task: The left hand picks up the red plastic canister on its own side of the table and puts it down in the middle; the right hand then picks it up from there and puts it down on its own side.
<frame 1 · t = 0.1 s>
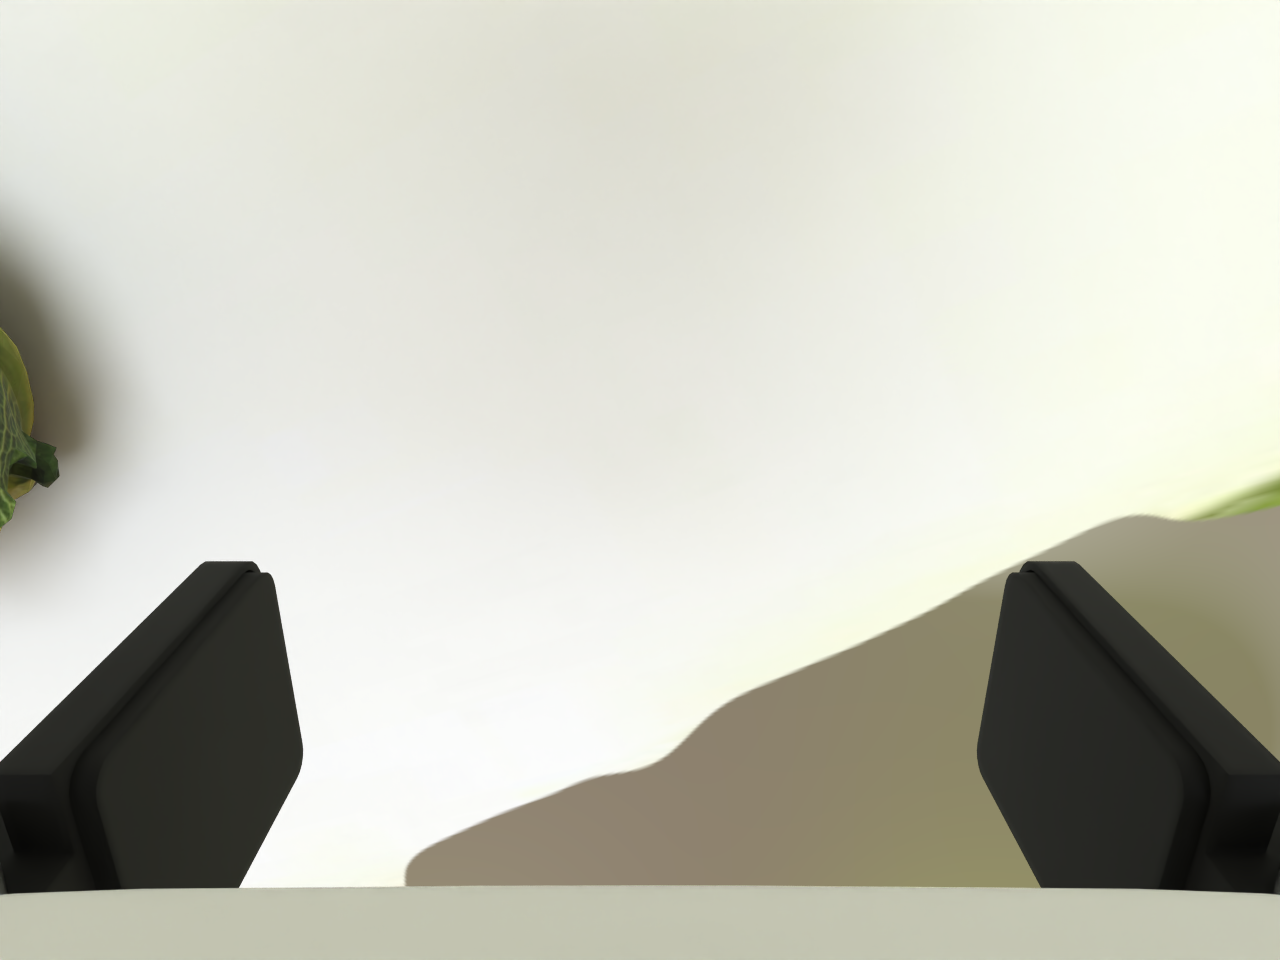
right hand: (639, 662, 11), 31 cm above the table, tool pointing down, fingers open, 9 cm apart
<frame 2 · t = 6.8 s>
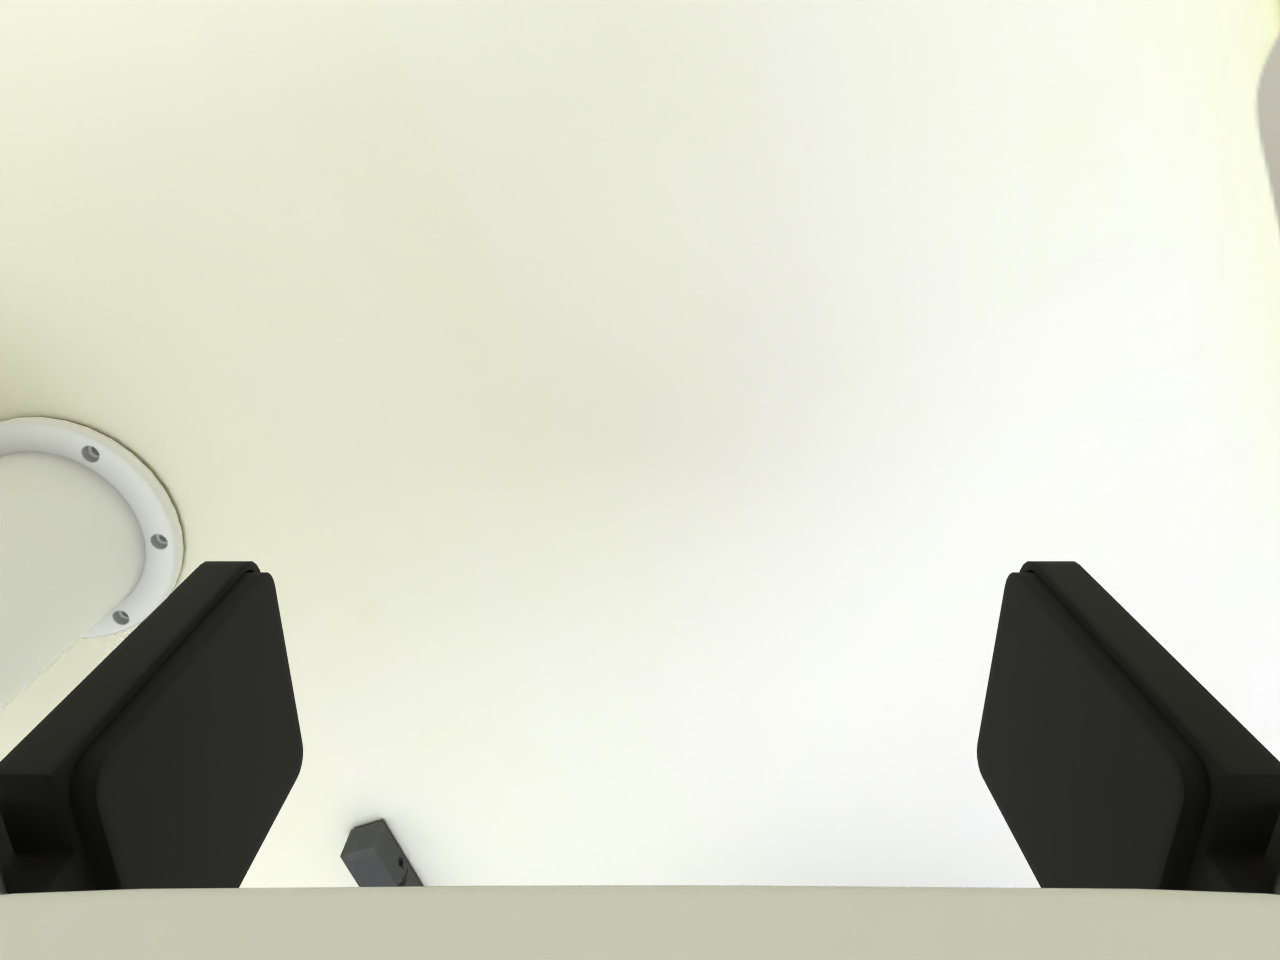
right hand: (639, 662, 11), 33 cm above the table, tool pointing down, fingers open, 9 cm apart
pillar: (435, 933, 58), on the table
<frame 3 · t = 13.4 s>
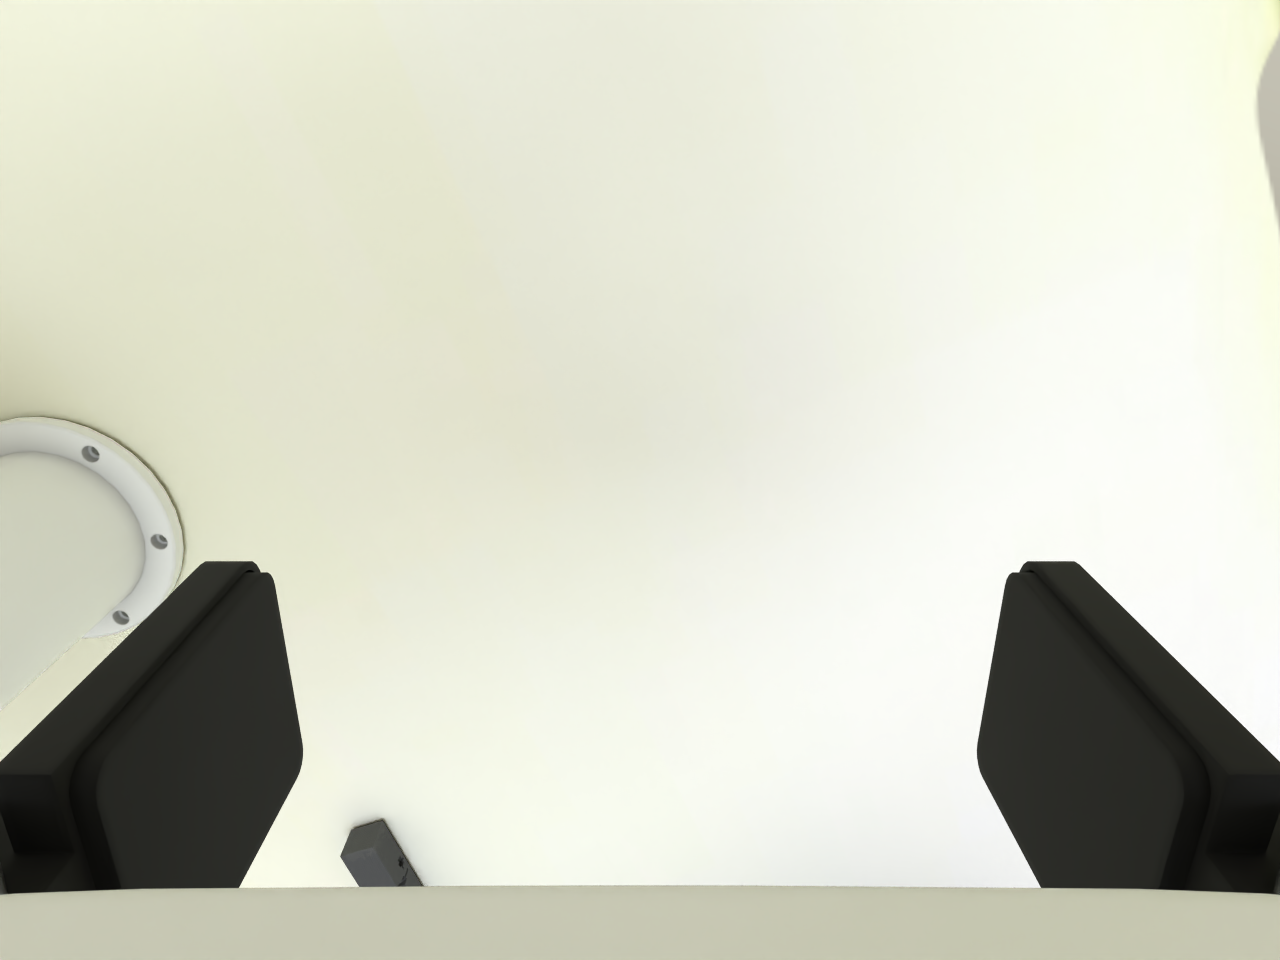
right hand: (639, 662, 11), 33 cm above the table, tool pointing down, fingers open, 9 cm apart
pillar: (435, 933, 58), on the table
when the left hand's fingers open (6 cm above the table, at t = 19.9 s): canister drops 1 cm, on the table.
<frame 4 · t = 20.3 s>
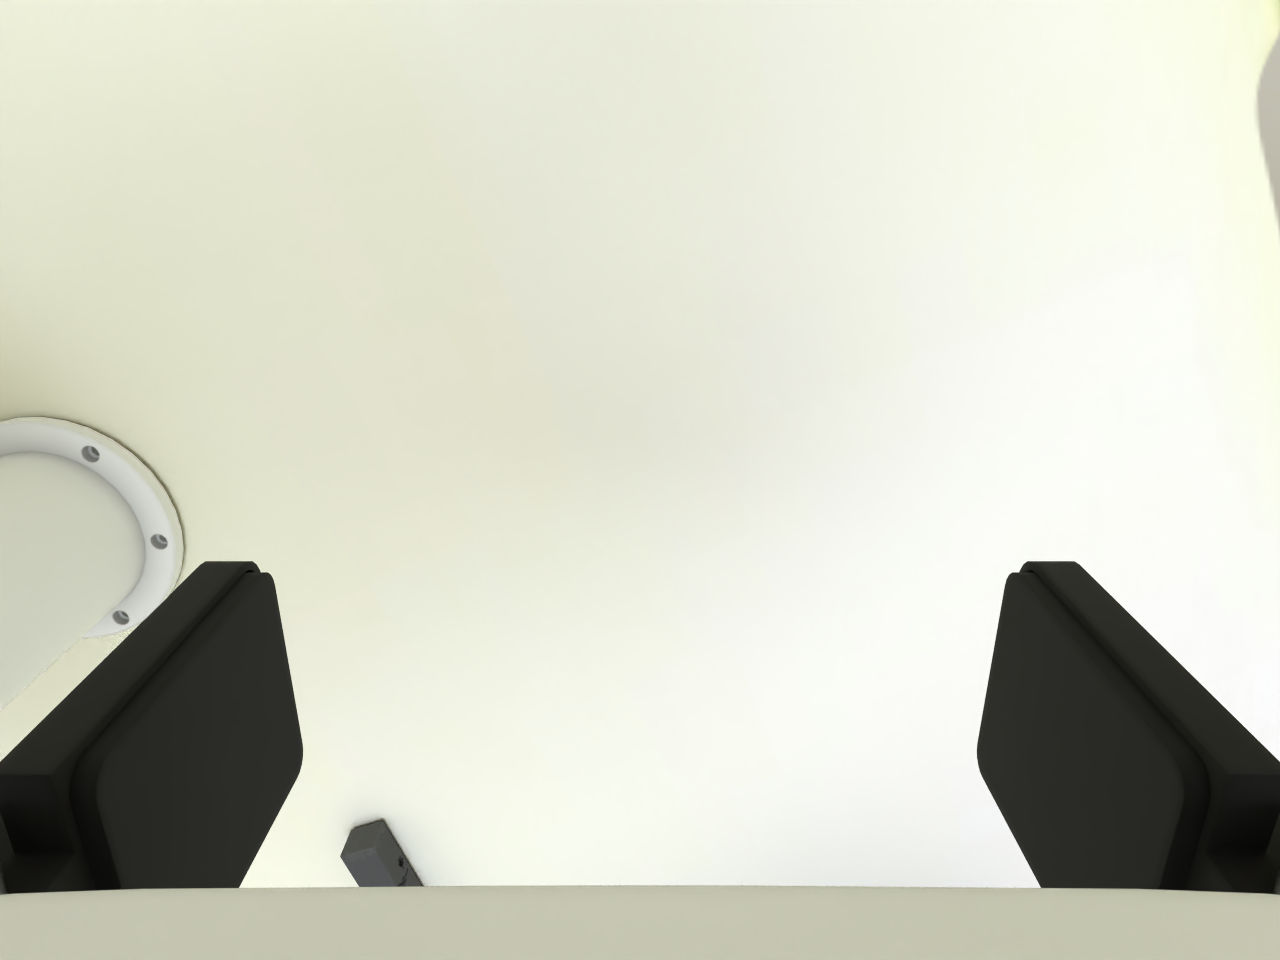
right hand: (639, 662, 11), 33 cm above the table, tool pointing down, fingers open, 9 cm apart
pillar: (435, 933, 58), on the table
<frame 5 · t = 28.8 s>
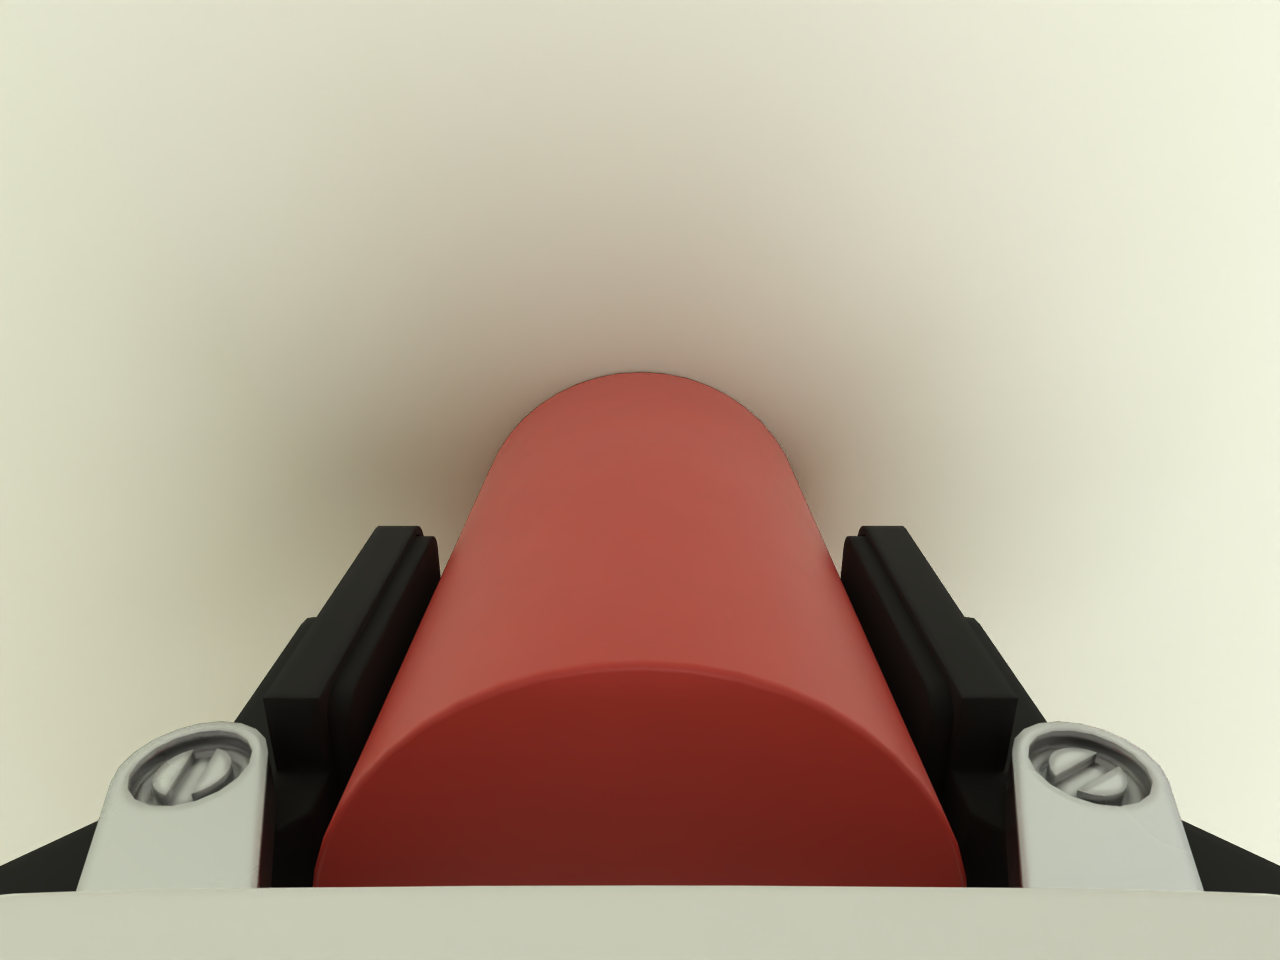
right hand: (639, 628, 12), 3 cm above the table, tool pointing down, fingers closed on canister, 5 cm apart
canister: (640, 526, 15), on the table, touching right hand
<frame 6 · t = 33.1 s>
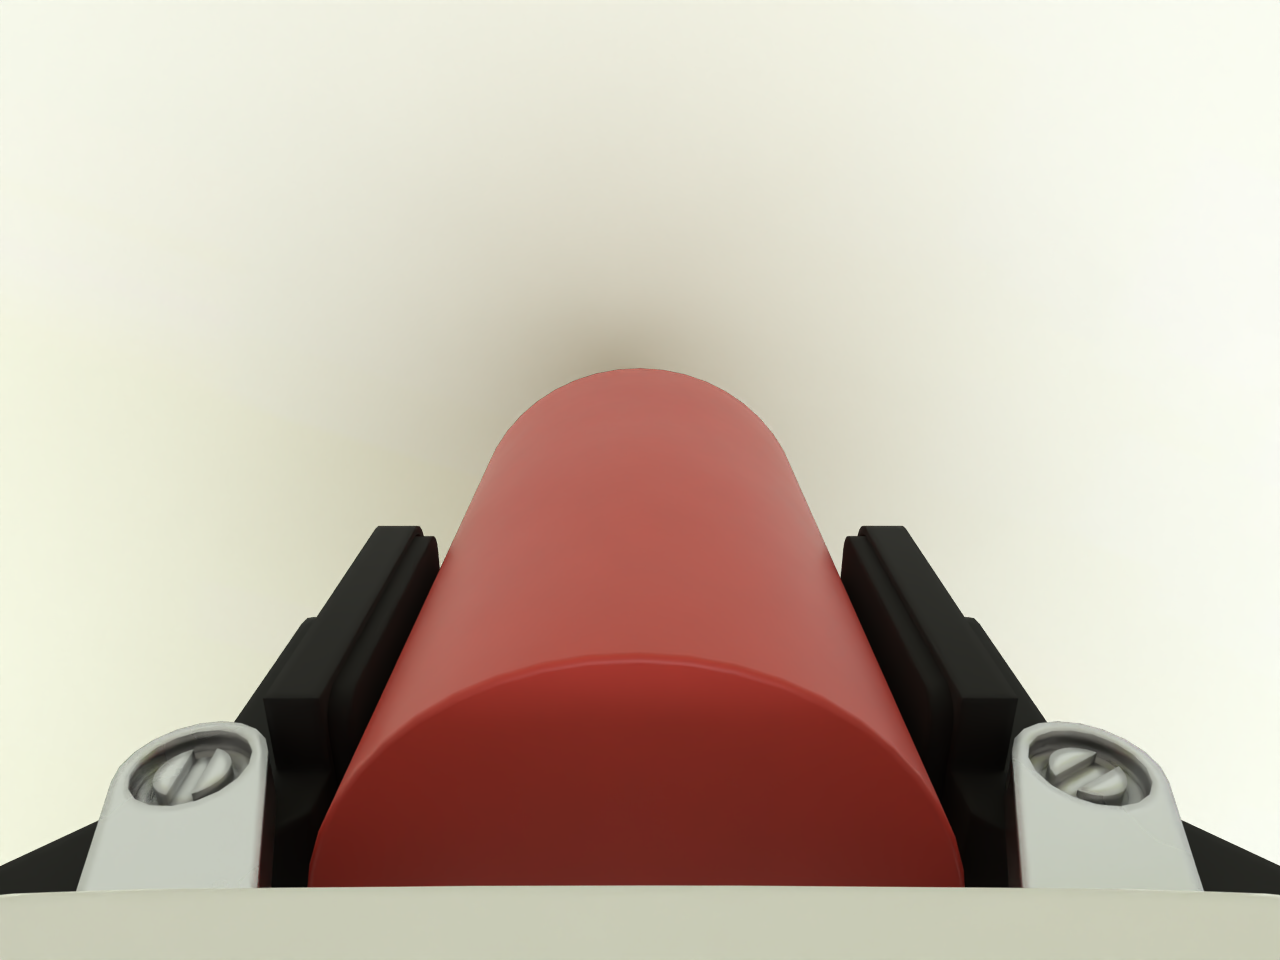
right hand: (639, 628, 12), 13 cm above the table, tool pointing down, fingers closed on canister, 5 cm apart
canister: (639, 523, 15), point 9 cm above the table, touching right hand
when the right hand's fingers open (4 cm above the table, at t = 37.3 s): canister drops 1 cm, on the table.
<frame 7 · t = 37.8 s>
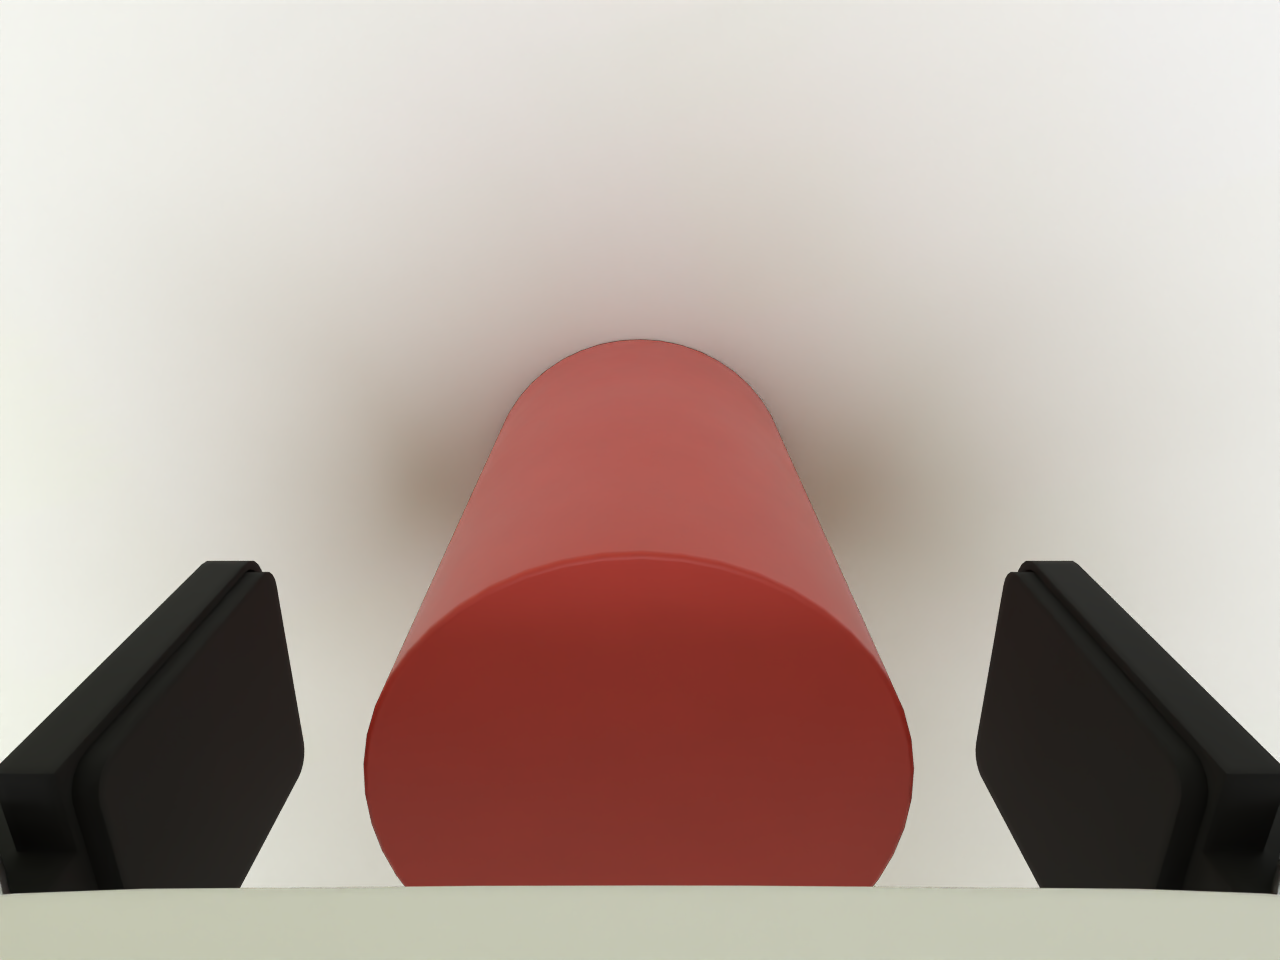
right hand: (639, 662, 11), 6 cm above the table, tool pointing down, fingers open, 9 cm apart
canister: (639, 482, 16), on the table
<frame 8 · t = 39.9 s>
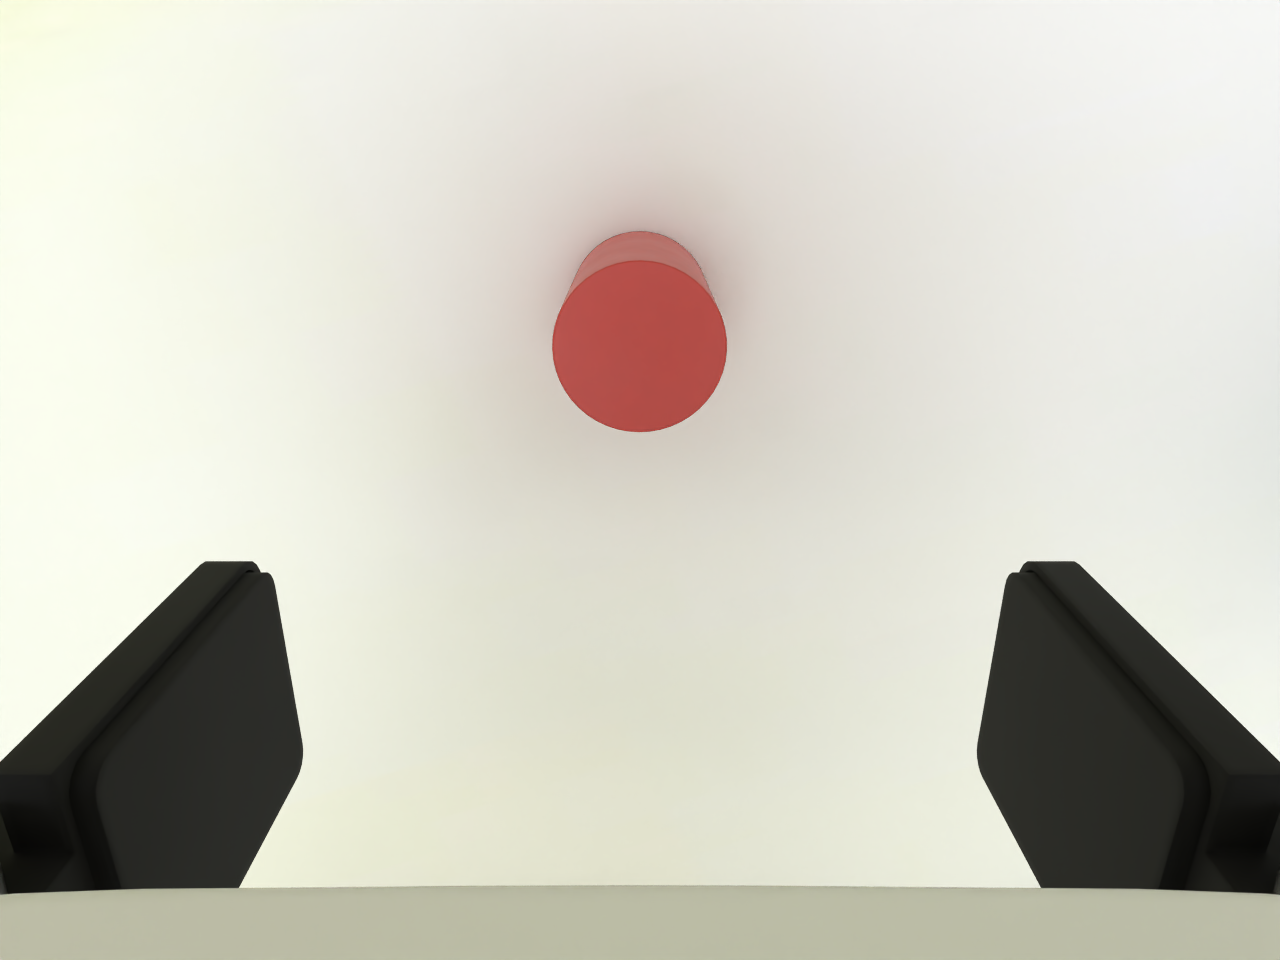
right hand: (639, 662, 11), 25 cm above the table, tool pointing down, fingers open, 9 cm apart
canister: (639, 301, 35), on the table
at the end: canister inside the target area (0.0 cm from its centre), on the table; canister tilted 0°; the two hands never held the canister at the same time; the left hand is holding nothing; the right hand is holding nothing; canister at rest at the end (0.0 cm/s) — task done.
